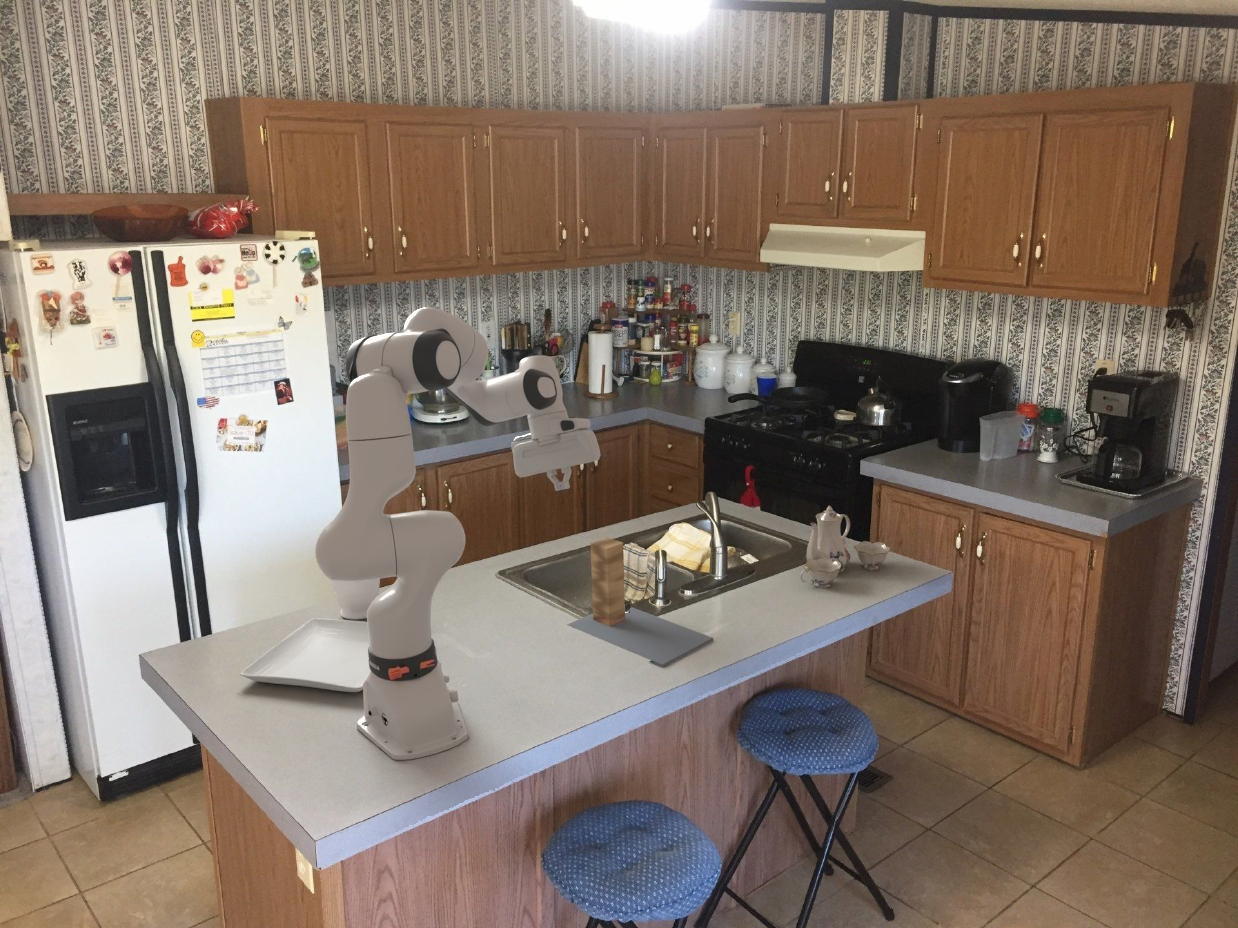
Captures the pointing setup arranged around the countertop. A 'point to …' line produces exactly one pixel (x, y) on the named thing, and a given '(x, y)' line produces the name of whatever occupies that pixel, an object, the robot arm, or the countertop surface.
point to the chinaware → (836, 550)
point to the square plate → (317, 657)
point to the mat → (646, 636)
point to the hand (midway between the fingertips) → (562, 489)
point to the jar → (355, 597)
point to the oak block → (608, 581)
